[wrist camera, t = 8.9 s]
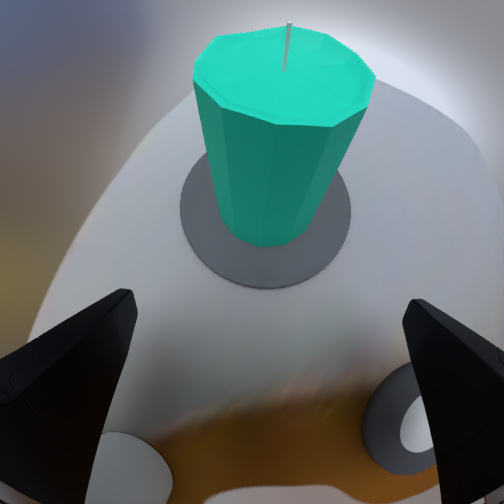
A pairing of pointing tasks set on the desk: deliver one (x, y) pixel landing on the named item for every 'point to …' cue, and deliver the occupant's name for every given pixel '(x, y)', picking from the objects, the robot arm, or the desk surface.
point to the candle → (277, 125)
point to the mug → (128, 472)
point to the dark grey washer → (398, 425)
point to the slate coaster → (265, 258)
